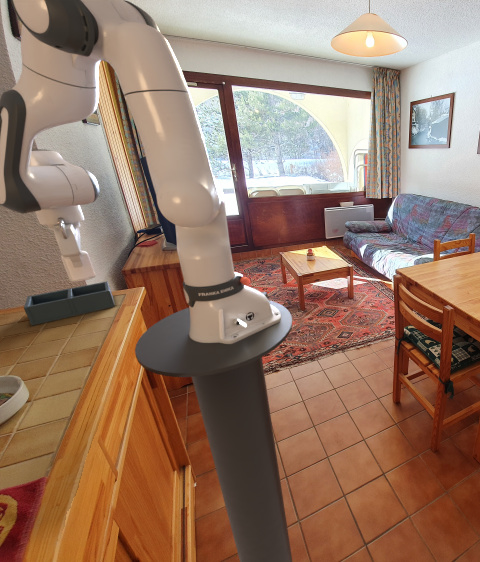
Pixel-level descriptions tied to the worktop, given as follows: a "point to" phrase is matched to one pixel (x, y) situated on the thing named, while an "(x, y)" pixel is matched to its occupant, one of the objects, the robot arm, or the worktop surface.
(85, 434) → the worktop surface
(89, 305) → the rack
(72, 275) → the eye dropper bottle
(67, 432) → the worktop surface
